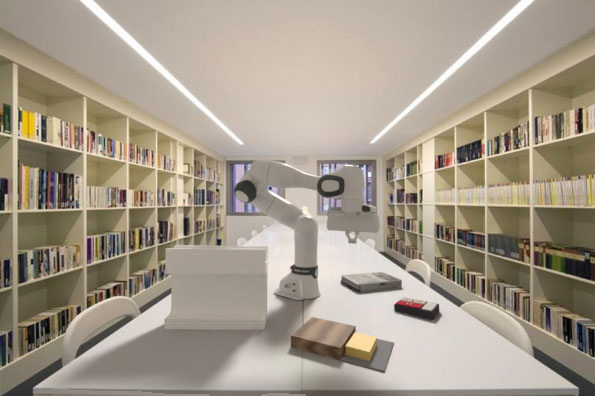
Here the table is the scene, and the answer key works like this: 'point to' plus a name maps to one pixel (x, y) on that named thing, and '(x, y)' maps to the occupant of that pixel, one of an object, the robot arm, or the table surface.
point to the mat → (374, 357)
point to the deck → (323, 337)
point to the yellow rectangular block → (361, 346)
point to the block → (217, 287)
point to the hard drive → (371, 281)
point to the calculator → (417, 308)
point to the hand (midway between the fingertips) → (352, 243)
